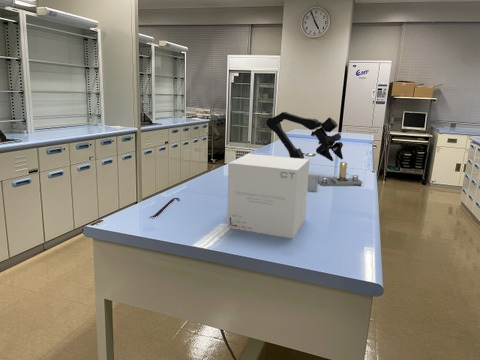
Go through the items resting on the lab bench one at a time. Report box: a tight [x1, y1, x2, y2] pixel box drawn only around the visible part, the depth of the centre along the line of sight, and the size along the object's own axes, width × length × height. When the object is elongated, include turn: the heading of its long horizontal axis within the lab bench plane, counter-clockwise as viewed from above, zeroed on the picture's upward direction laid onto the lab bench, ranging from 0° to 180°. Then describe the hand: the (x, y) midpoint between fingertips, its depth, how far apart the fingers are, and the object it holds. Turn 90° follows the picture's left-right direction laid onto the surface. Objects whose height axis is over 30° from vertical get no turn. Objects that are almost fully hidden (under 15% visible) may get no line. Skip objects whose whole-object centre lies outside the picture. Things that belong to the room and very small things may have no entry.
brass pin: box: [338, 161, 348, 181], centre depth 204 cm, size 4×4×12 cm
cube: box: [226, 153, 310, 239], centre depth 140 cm, size 25×21×24 cm
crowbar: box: [148, 197, 181, 219], centre depth 157 cm, size 28×1×5 cm
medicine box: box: [307, 172, 319, 193], centre depth 190 cm, size 8×4×9 cm, turn 71°
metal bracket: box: [318, 174, 363, 187], centre depth 204 cm, size 23×8×5 cm, turn 96°
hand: (337, 159), depth 205 cm, fingers open, 9 cm apart
